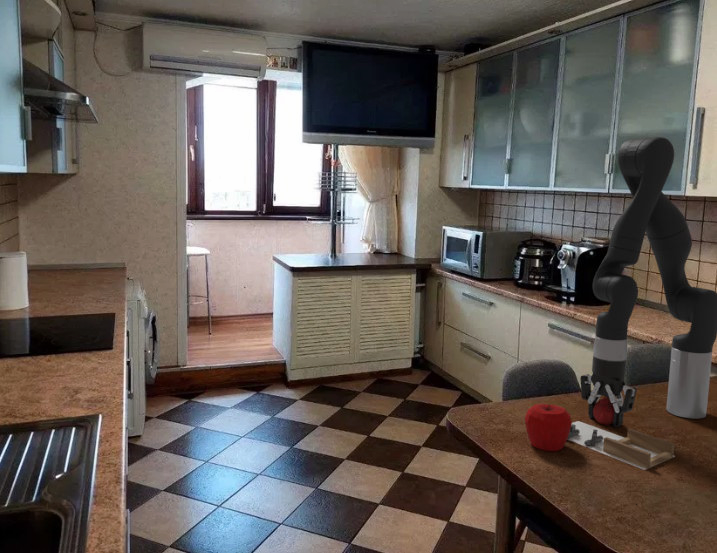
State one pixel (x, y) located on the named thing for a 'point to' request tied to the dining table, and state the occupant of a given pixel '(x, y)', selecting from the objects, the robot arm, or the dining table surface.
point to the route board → (598, 439)
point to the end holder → (637, 455)
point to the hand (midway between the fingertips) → (604, 421)
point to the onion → (604, 411)
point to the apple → (548, 426)
